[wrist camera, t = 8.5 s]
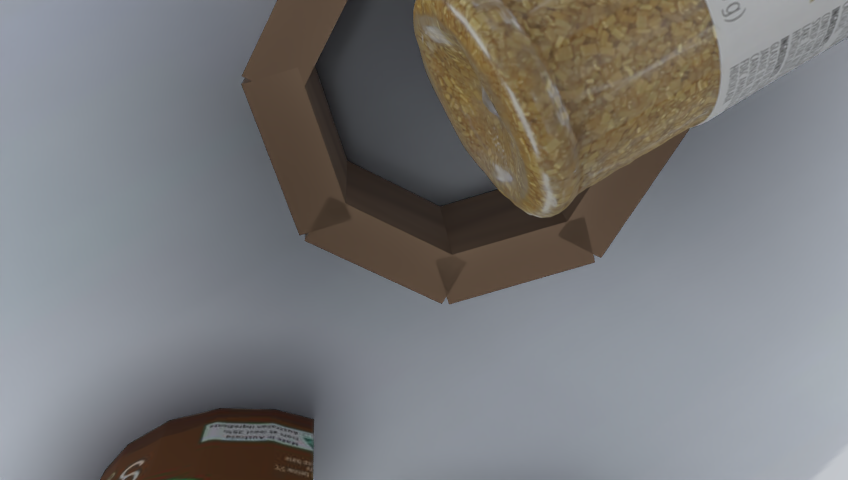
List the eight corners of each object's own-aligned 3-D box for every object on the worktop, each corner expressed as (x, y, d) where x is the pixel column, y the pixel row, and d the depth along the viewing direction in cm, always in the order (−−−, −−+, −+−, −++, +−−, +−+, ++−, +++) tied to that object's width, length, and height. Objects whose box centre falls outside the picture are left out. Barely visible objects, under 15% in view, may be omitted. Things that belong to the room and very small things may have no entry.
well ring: (663, 185, 21) (709, 229, 19) (340, 279, 22) (338, 336, 19) (600, -182, 18) (646, -194, 15) (215, -61, 18) (189, -51, 15)
